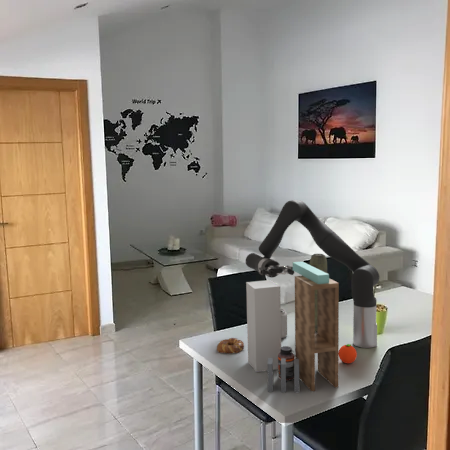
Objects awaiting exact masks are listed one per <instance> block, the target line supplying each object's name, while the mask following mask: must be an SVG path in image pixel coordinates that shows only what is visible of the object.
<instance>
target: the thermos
mask: <svg viewBox="0 0 450 450" xmlns="http://www.w3.org/2000/svg"><path fill="white" fill-rule="evenodd" d="M309 265H311V266H313V267H315V268H317V269H319V270H321V271H323V272H325V273H327V274H328V261H327V257H326V255H325V254H324V253H314V254H311V257H310V259H309ZM315 334H317V290H315Z"/></svg>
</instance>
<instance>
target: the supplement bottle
mask: <svg viewBox="0 0 450 450" xmlns="http://www.w3.org/2000/svg"><path fill="white" fill-rule="evenodd" d="M281 358H286V382H287V381H293V380H294V359H295V353H294V352H293V350H292V347H291V346H289V345H287V346H286V345H283V346H281V352H280V353H279V354H278V369H277V371H278V372H277V373H278V374H277V375H278V379H280V380H281Z"/></svg>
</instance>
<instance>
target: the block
mask: <svg viewBox="0 0 450 450" xmlns="http://www.w3.org/2000/svg"><path fill="white" fill-rule="evenodd" d="M292 267H293V271H294V273H297V274H299V276H304V277H306V278H308V279H310V280H311V281H313V282H315V283H317V284H325V283H329V278H330V274H329V273H328V272H327V273H325V272H323V271H321V270H319V269H317V268H315V267H313V266H311V265H310V263H306V262H304V261H294V262H292Z"/></svg>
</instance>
